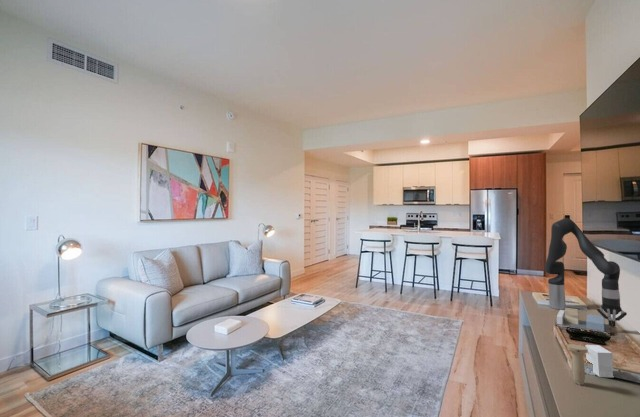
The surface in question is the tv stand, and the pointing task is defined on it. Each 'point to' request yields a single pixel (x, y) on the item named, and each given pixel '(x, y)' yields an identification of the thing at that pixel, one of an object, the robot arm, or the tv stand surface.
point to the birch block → (571, 315)
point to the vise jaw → (595, 322)
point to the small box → (600, 360)
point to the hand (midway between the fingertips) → (612, 326)
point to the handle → (578, 362)
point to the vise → (581, 324)
